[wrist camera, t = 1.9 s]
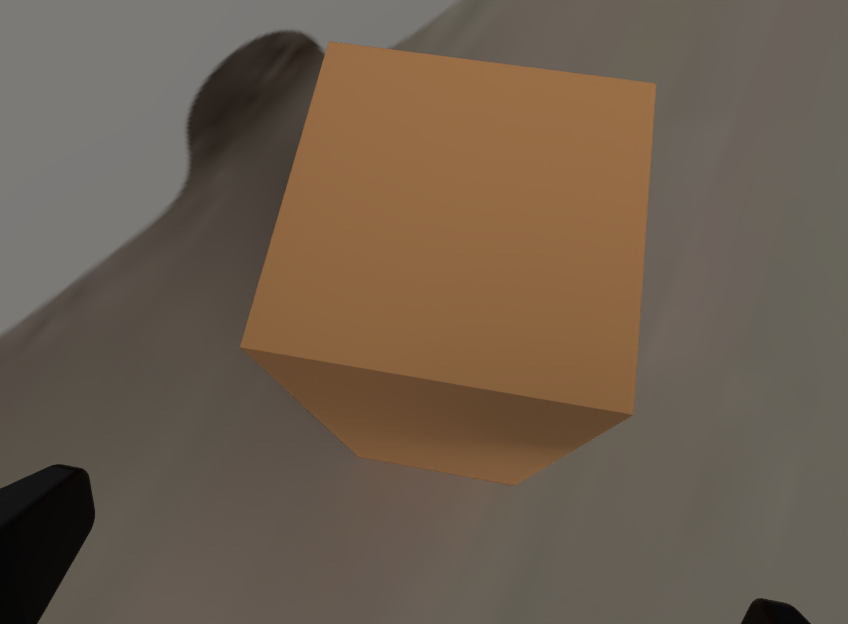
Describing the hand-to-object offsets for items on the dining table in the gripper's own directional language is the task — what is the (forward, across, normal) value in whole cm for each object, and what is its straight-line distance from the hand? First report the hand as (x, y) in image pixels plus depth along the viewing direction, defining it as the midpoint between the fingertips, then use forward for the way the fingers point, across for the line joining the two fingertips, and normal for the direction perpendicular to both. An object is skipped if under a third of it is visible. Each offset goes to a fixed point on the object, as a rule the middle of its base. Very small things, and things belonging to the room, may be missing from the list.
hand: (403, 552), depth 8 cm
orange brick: (+11, 0, +5) cm, 12 cm away
